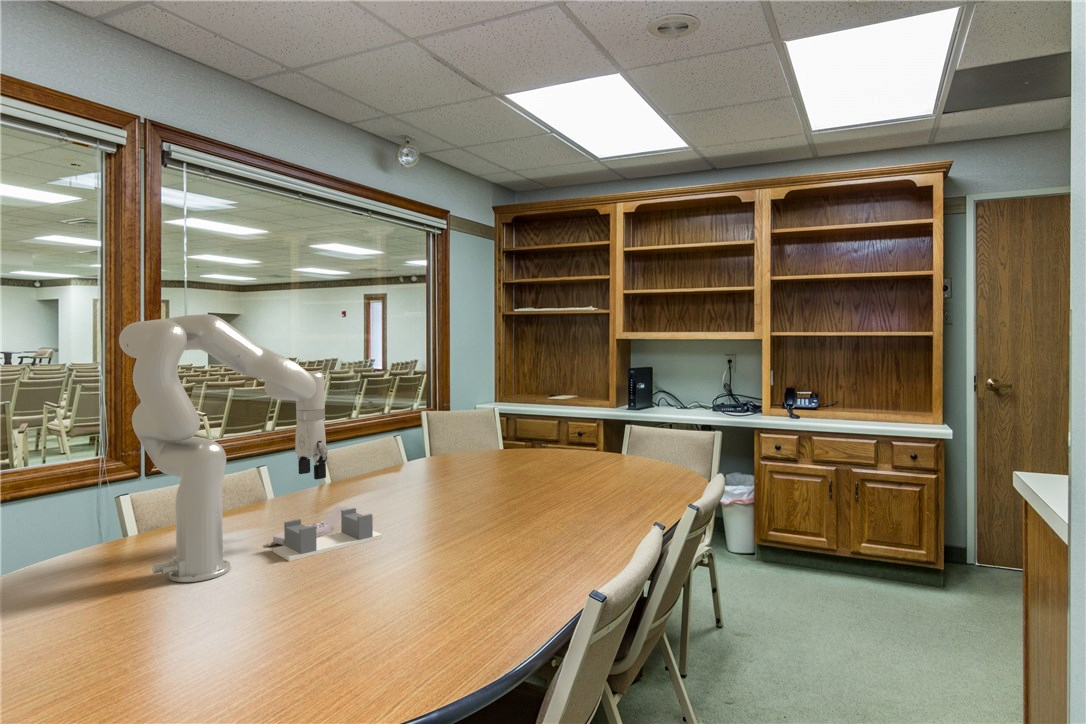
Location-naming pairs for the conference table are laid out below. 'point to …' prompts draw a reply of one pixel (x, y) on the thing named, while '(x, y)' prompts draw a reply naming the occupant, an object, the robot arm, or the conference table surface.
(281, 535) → the mobile phone
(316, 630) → the conference table surface
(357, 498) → the conference table surface
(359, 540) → the cradle stand
